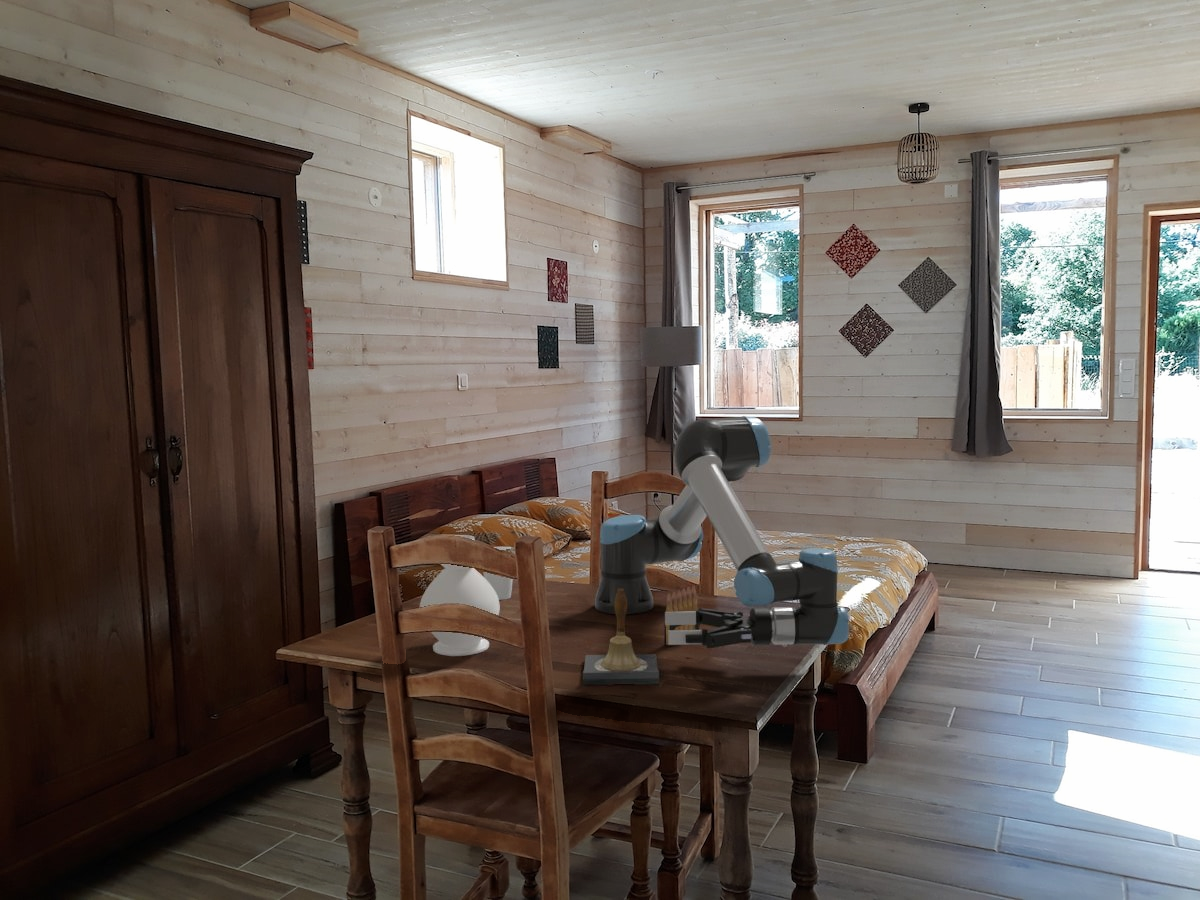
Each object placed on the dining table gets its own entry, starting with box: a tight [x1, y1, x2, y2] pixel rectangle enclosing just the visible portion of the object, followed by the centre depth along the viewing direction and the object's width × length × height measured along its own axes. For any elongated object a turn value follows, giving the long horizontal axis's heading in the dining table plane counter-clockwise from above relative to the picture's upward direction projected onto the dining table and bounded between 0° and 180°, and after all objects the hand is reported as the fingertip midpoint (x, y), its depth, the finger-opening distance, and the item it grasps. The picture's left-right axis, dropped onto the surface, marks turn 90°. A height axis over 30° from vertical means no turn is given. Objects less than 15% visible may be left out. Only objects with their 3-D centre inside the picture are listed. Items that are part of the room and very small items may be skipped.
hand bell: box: [601, 588, 641, 671], centre depth 190 cm, size 8×8×16 cm
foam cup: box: [482, 546, 514, 601], centre depth 253 cm, size 10×9×13 cm
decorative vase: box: [419, 534, 501, 657], centre depth 208 cm, size 18×18×25 cm
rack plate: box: [582, 653, 660, 686], centre depth 191 cm, size 15×15×2 cm
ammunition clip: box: [663, 584, 700, 647], centre depth 211 cm, size 11×2×12 cm, turn 136°
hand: (666, 627), depth 190 cm, fingers open, 13 cm apart
